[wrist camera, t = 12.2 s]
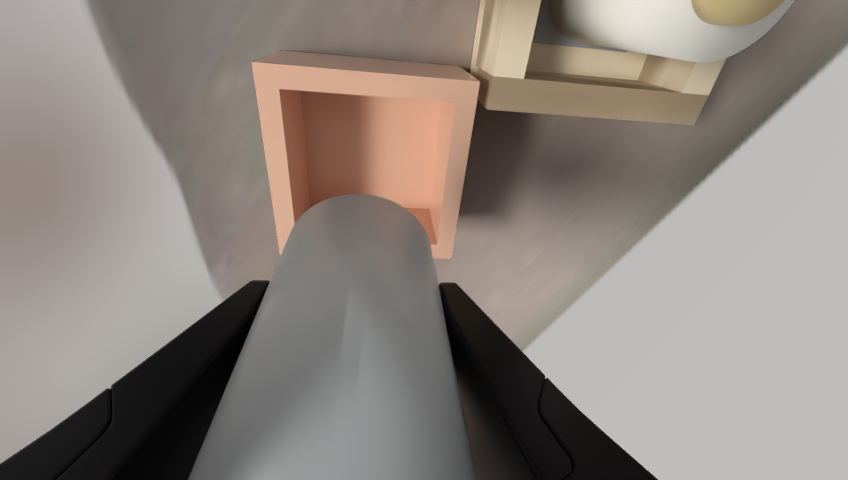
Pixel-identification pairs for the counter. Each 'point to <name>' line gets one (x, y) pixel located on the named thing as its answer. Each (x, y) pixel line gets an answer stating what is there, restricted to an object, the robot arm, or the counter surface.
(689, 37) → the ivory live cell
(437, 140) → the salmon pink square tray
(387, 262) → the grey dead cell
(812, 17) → the counter surface
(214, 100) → the counter surface
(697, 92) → the frame
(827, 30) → the counter surface
